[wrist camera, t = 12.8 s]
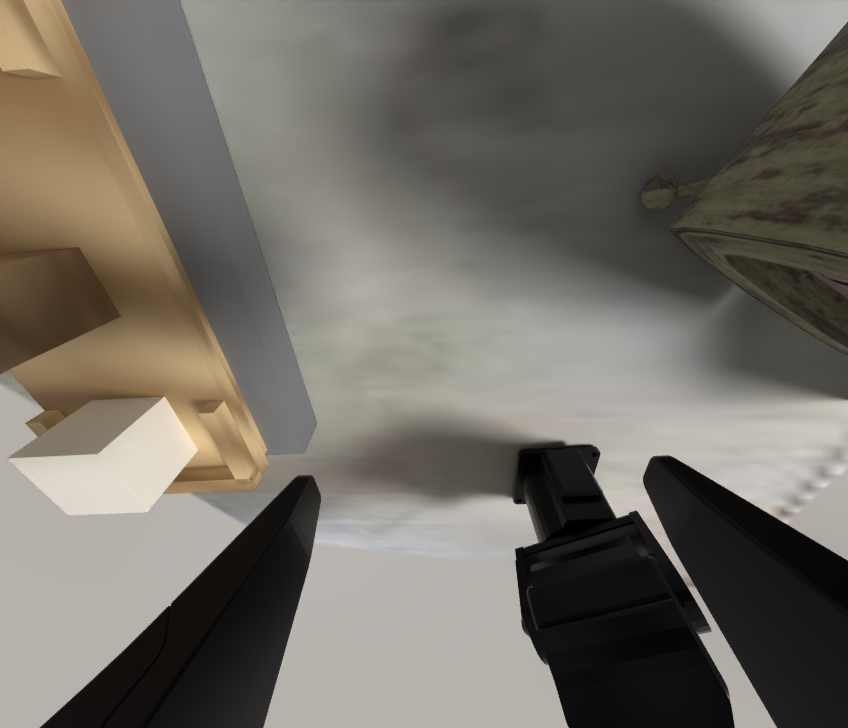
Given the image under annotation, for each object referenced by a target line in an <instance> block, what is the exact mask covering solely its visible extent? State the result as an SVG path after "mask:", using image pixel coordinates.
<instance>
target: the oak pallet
mask: <svg viewBox="0 0 848 728" xmlns="http://www.w3.org/2000/svg"><path fill="white" fill-rule="evenodd" d="M7 370H9V371H10V372H11V373H12V374H13V375H14V376H15V378H16V379H17V380H18V381H19V382H20V383H21V384H22V385H23V387H24V388H25V389H26V390H27V391H28V392H29V393H30V394H31V396H32V397H33V398H34V399H35V400H36V401H37V402H38V403H39V405H40V406H41V407H42V408H43V409H44V410H45V411H44V412H42V413H41V414H39V415H38V416H36V417H34V418H33V419H31V420H30V421H28V422H26V425H28V427H29V428H30V429H31V430H32V431H33V432H34V433H35V434H36V435H37V436H38V437H39V436H41V435H42V434H43V433H45V432H46V431H48V430H49V429H51V428H52V427H54V426H55V425H57V424H58V423H60V422H61V421H62V420H64V419H65V418H67V417H68V416H70V415H71V414H73V413H74V412H76V411H77V410H79V409H80V408H81V407H83V406H84V405H86V404H87V403H89V402H90V401H92V400H107V399H125V398H143V397H161V396H165V397H166V399H167V401H168V402H169V404H170V406H171V407H172V409H173V410H174V412H175V414H176V415H177V417H178V419H179V420H180V422H181V423H182V425H183V427H184V428H185V430H186V432H187V433H188V435H189V437H190V438H191V440H192V441H193V443H194V445H195V446H196V448H197V450H198V451H197V452H196V453H195V455H194V456H193V457H192V458H191V459H190V461H189V462H188V463H187V464H186V466H185V467H184V468H183V469H182V470H181V472H180V473H179V474H178V475H177V477H176V478H175V479H174V480H173V481H172V483H171V484H170V485H169V486H168V488H167V489H166V490H165V491H164V493H163V494H173V493H194V492H216V491H237V490H255V488H256V486H257V485H258V483H259V481H260V479H261V477H262V475H263V473H264V471H265V470H266V468H267V466H268V464H269V463H268V461H267V459H266V457H265V454H266V452H267V448H266V446H265V444H264V441H263V439H262V437H261V435H260V433H259V431H258V428H257V426H256V424H255V422H254V420H253V418H252V415H251V413H250V411H249V409H248V407H247V404H246V402H245V400H244V398H243V396H242V394H241V391H240V389H239V387H238V385H237V383H236V381H235V378H234V376H233V374H232V372H231V370H230V367H229V365H228V363H227V361H226V359H225V357H224V354H223V352H222V350H221V348H220V346H219V344H218V341H217V339H216V337H215V335H214V333H213V330H212V328H211V326H210V324H209V322H208V320H207V317H206V315H205V313H204V311H203V309H202V307H201V304H200V302H199V300H198V298H197V296H196V293H195V291H194V289H193V287H192V285H191V283H190V280H189V278H188V276H187V274H186V272H185V269H184V267H183V265H182V263H181V261H180V259H179V256H178V254H177V252H176V250H175V248H174V246H173V243H172V241H171V239H170V237H169V235H168V232H167V230H166V228H165V226H164V224H163V222H162V219H161V217H160V215H159V213H158V211H157V209H156V206H155V204H154V202H153V200H152V198H151V195H150V193H149V191H148V189H147V187H146V185H145V182H144V180H143V178H142V176H141V174H140V172H139V169H138V167H137V165H136V163H135V161H134V158H133V156H132V154H131V152H130V150H129V148H128V145H127V143H126V141H125V139H124V137H123V135H122V132H121V130H120V128H119V126H118V124H117V121H116V119H115V117H114V115H113V113H112V111H111V108H110V106H109V104H108V102H107V100H106V98H105V95H104V93H103V91H102V89H101V87H100V84H99V82H98V80H97V78H96V76H95V74H94V71H93V69H92V67H91V65H90V63H89V60H88V58H87V56H86V54H85V52H84V50H83V47H82V45H81V43H80V41H79V39H78V37H77V34H76V32H75V30H74V28H73V26H72V23H71V21H70V19H69V17H68V15H67V13H66V10H65V8H64V6H63V4H62V2H61V0H0V374H1V373H3V372H5V371H7Z"/></svg>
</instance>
